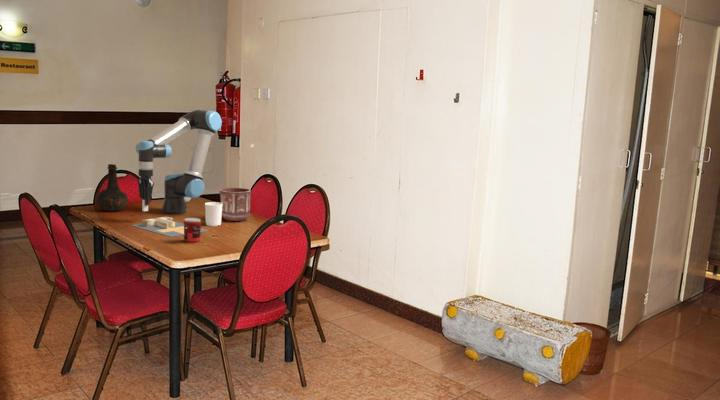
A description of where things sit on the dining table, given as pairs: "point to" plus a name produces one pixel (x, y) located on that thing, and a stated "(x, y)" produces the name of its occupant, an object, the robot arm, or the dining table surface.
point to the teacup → (187, 199)
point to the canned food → (192, 230)
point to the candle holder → (213, 213)
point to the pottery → (235, 203)
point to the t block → (159, 222)
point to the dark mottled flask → (112, 193)
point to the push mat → (167, 232)
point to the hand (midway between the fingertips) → (145, 210)
